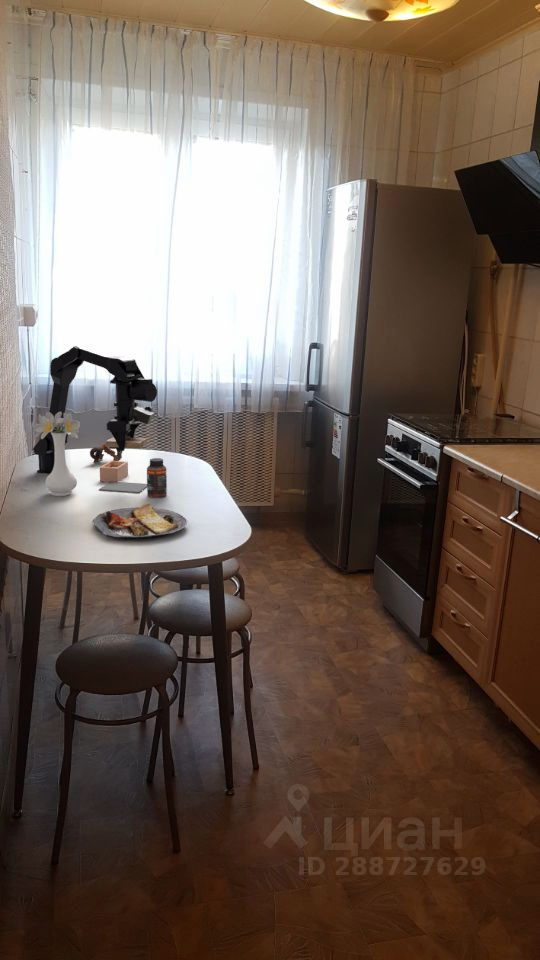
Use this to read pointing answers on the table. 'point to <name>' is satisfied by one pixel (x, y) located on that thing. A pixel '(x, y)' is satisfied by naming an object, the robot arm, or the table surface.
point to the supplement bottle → (156, 478)
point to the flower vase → (59, 451)
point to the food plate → (139, 521)
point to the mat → (124, 487)
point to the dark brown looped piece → (107, 450)
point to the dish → (113, 471)
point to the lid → (128, 442)
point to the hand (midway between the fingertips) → (126, 448)
